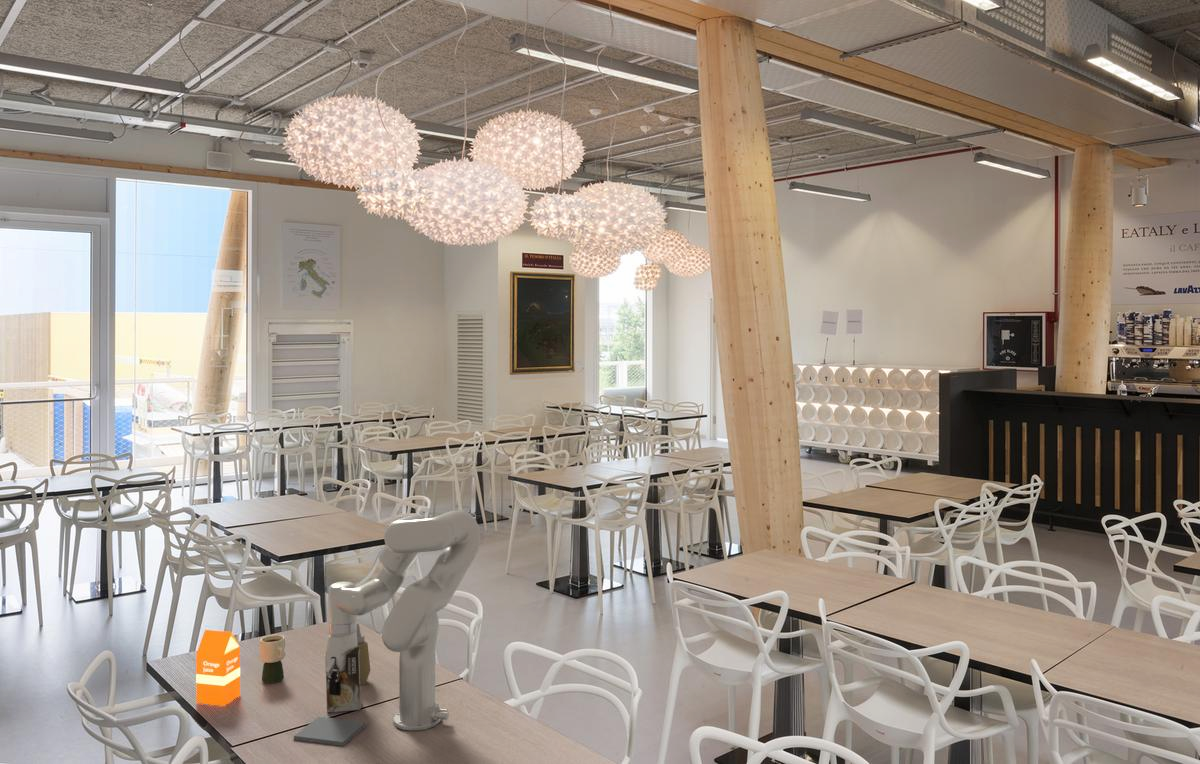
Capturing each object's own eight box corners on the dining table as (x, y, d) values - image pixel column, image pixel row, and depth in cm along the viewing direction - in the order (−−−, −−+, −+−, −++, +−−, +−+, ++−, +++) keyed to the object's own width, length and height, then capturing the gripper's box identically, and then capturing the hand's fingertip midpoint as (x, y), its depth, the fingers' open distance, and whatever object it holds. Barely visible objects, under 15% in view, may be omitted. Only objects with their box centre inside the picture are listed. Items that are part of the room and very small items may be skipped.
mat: (366, 725, 233) (366, 722, 233) (343, 745, 221) (343, 742, 221) (319, 720, 236) (318, 716, 236) (293, 739, 225) (293, 735, 225)
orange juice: (224, 706, 244) (223, 636, 243) (196, 703, 246) (195, 634, 245) (240, 695, 252) (240, 627, 251) (213, 693, 254) (213, 625, 253)
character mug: (293, 681, 262) (293, 639, 262) (272, 689, 257) (271, 645, 256) (273, 673, 269) (273, 631, 269) (252, 680, 264) (251, 637, 263)
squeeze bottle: (353, 690, 257) (353, 630, 256) (337, 683, 261) (336, 624, 261) (376, 682, 263) (376, 623, 262) (359, 675, 268) (359, 617, 267)
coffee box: (361, 701, 249) (360, 645, 248) (360, 710, 242) (359, 653, 242) (327, 704, 247) (326, 648, 246) (325, 713, 240) (324, 656, 240)
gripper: (346, 616, 253) (347, 675, 254) (313, 636, 236) (314, 699, 237) (370, 618, 251) (370, 678, 252) (338, 638, 234) (339, 702, 235)
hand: (343, 688), depth 244 cm, fingers closed on coffee box, 8 cm apart
